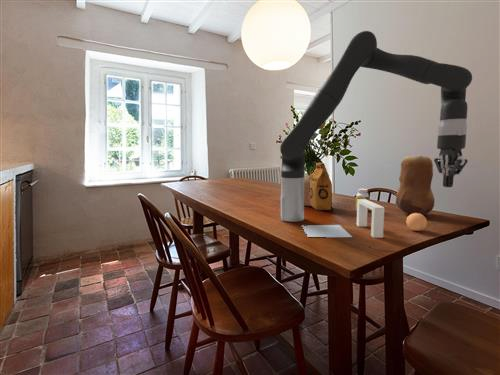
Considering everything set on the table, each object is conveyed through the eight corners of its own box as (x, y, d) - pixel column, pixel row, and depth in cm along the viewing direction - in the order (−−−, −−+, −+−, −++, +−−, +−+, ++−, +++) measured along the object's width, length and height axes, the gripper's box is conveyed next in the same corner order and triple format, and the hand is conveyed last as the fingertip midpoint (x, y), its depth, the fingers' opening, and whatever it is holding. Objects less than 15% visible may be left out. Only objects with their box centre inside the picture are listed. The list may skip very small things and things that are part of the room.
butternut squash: (430, 212, 120) (434, 154, 116) (436, 219, 108) (440, 155, 104) (394, 210, 125) (397, 155, 122) (396, 216, 113) (399, 155, 110)
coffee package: (312, 210, 127) (313, 163, 124) (306, 205, 140) (307, 162, 137) (334, 210, 127) (335, 162, 124) (326, 205, 140) (327, 161, 137)
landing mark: (308, 237, 88) (308, 237, 88) (301, 225, 102) (301, 225, 102) (352, 237, 88) (352, 236, 88) (339, 225, 102) (339, 225, 102)
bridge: (373, 237, 87) (374, 207, 86) (356, 225, 102) (357, 199, 101) (383, 237, 87) (384, 207, 86) (364, 224, 102) (365, 199, 101)
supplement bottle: (367, 211, 123) (368, 190, 122) (354, 210, 126) (355, 189, 125) (369, 209, 128) (370, 188, 127) (356, 208, 131) (357, 188, 129)
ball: (411, 233, 91) (413, 215, 90) (402, 228, 97) (403, 211, 96) (430, 232, 91) (431, 215, 90) (419, 227, 97) (420, 211, 96)
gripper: (427, 135, 96) (424, 184, 99) (454, 133, 83) (449, 189, 85) (449, 135, 96) (445, 184, 98) (479, 132, 83) (474, 189, 85)
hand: (447, 186), depth 92 cm, fingers closed
